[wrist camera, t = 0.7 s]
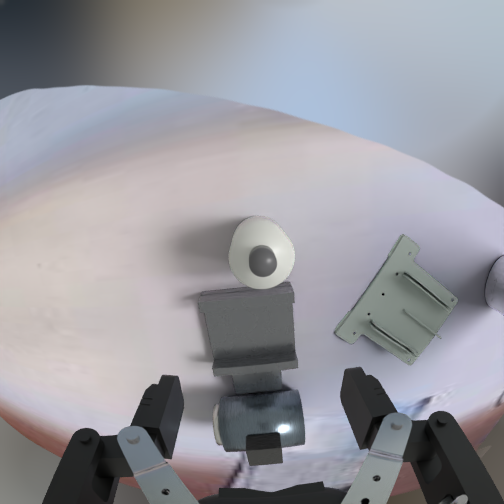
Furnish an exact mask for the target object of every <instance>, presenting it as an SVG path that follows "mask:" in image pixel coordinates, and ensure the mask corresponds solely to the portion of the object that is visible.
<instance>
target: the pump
mask: <svg viewBox="0 0 504 504" xmlns="http://www.w3.org/2000/svg"><path fill="white" fill-rule="evenodd" d="M294 261H295V252H294V248H293V245H292V242H291V241H290V239H289V238H288V236H287V235H286V234H285V233H284V231H283V230H282V229H281V227H280V226H279V225H278V224H277V223H276V222H275V221H274V220H272V219H270V218H268V217H265V216H253V217H249V218H247V219H245V220H244V221H242V222H241V223H240V224H239V225H238V227H237V228H236V230H235V232H234V235H233V238H232V242H231V246H230V250H229V265H230V268H231V271H232V273H233V274H234V276H235V277H236V278H237V279H238V280H239V281H240V282H241V283H243V284H244V285H246V286H248V287H251V288H255V289H268V288H272V287H274V286H277V285H278V284H280V283H282V282H283V281H284V280H285V279H286V278H287V277H288V276H289V274H290V273H291V271H292V268H293V266H294Z"/></svg>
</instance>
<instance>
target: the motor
mask: <svg viewBox="0 0 504 504" xmlns="http://www.w3.org/2000/svg"><path fill="white" fill-rule="evenodd" d="M292 303H295V301H294V291H293V289H292V286H291V284H290V282H286V283H280V284H278V285H277V286H274V287H272V288H268V289H255V288H251V287H243V288H233V289H224V290H214V291H204V292H202V293H201V296H200V299H199V301H198V305H199V310H200V313H203V312H204V314H205V319H206V324H207V329H208V334H209V339H210V343H211V348H212V353H213V357H214V362H213V368H212V369H213V373H214V376H229V375H232V377H233V382H234V387H235V392H236V394H242V393H254V392H264V391H273V390H281V389H282V379H281V370H287V369H295V368H298V359H297V356H296V352H295V338H294V321H293V306H292ZM213 430H214V436H215V440H216V443H217V444H218V445H223V447H224V450H225V451H226V452H238V451H246V454H247V458H248V462H249V465H250V466H255V465H267V464H277V463H283V459H282V448H284V447H292V446H299V445H304V444H305V426H304V417H303V410H302V404H301V399H300V395H299V392H298V390H291V391H283V392H275V393H266V394H257V395H245V396H231V397H222V398H221V400H220V404H215V405H214V409H213Z"/></svg>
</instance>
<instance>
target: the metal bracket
mask: <svg viewBox="0 0 504 504" xmlns="http://www.w3.org/2000/svg"><path fill="white" fill-rule="evenodd" d="M419 250H420V247H419V245H417V244H416V243H415V242H414V241H412V240H411V239H410V238H409V237H407V236H406V235H404V234H402V235H401V236H400V237H399V239H398V240H397V242H396V243H395V245H394V246H393V248H392V250H391V251H390V253H389V254H388V259H387V260H386V262H385V264H384V265H383V267H382V268H381V270H380V271H379V273H378V274H377V275H376V277H375V278H374V280H373V281H372V283H371V284H370V286H369V287H368V289H367V290H366V291H365V293H364V294H363V296H362V297H361V298H360V300H359V301H358V302H357V304H356V305H355V307H354V308H353V309H352V310H351V311H348V313H347V314H346V315H345V317H344V318H343V319H342V320H341V322H340V323H339V324H338V326H337V327H336V328H335V334H336V335H337V336H339V337H340V338H342V339H343V340H345V341H346V342H348V343H349V344H354V343H355V341H356V340H357V339H358V338H359V336H360V335H362V334H363V335H365V336H367V337H368V338H370V339H371V340H373V341H374V342H376V343H377V344H378V345H380V346H381V347H383V348H384V349H386V350H387V351H389V352H390V353H392V354H393V355H395V356H396V357H398V358H399V359H401V360H402V361H404V362H405V363H407V364H408V365H412V364H413V363H414V362H415V360H416V359H417V358H418V357H419V355H420V354H421V353H422V352H423V350H424V349H425V348H426V346H427V345H428V344H429V342H430V341H431V340H432V338H433V337H434V336H435V335H436V336H437V337H439V338H440V339H441V337H440V336H439V335H438V334H437V332H438V330H439V329H440V327H441V326H442V325H443V323H444V322H445V320H446V319H447V317H448V316H449V314H450V313H451V311H452V310H453V308H454V307H455V305H456V304H457V302H458V299H457V298H456V297H455V296H454V295H453V294H452V293H451V292H449V291H448V290H447V289H446V288H445V287H444V286H442V285H441V284H440V283H439V282H438V281H437V280H435V279H434V278H433V277H432V276H431V275H429V274H428V273H427V272H426V271H425V270H423V269H422V268H421V267H420V266H418V265H417V264H416V263H415V262H414V258H415V257H416V255H417V253H418V252H419ZM409 252H411V255H409ZM396 273H398V275H397V276H396ZM382 293H384V296H382ZM452 298H454V300H453V301H452V302H451V299H452ZM368 313H370V315H368ZM353 332H356V333H355V334H353ZM409 358H410V361H407V360H408V359H409Z"/></svg>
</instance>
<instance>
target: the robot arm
mask: <svg viewBox="0 0 504 504" xmlns="http://www.w3.org/2000/svg"><path fill="white" fill-rule="evenodd" d="M485 298H486V302H487V304H488V305H489V306H490V307H491V308H493V309H495V310H496V311H498V312H499V313H501V314H502V315H504V256H502V257H500V258H499V259H498V260H497V261H496V262H495V264H494V265H493V267H492V269H491V271H490V273H489V276H488V279H487V283H486V288H485ZM340 398H341V403H342V405H343V408H344V410H345V413H346V415H347V418H348V420H349V423H350V425H351V428H352V430H353V433H354V436H355V438H356V441H357V443H358V446H359V448H360V450H362V449H366V448H368V449H369V453H368V455H367V457H366V459H365V461H364V463H363V465H362V467H361V469H360V471H359V473H358V475H357V477H356V478H355V480H354V482H353V484H352V486H351V487H350V489H349V491H348V493H347V492H345V491H342V490H339V489H335V488H329V487H324V484H323V481H322V482H316V483H309V484H301V485H296V486H293V487H290V488H286V489H283V490H279V491H276V492H265V491H258V490H252V489H246V488H219V494H214V495H211V496H207V497H204V498H202V499H200V500H198V501H197V500H196V499H195V498H194V496H193V495H192V494H191V493H190V491H189V490H188V489H187V488H186V486H185V485H184V484H183V482H182V481H181V480H180V478H179V477H178V476H177V474H176V473H175V471H174V470H173V469H172V467H171V466H170V464H169V463H168V462H166V461H165V460H164V458H165V459H172V455H173V451H174V447H175V442H176V438H177V434H178V430H179V426H180V422H181V417H182V413H183V409H184V399H183V395H182V390H181V386H180V381H179V377H178V376H173V375H162V376H161V379H160V381H159V384H152V385H151V386H150V387H148V388H147V389H146V390H145V392H144V395H143V397H142V399H141V402H140V405H139V406H138V409H137V411H136V413H135V416H134V418H133V420H132V423H131V425H130V426H129V427H126V428H124V429H122V430H121V431H120V432H119V433H118V435H113V436H99V434H98V432H97V431H95V430H93V429H91V428H83V429H80V430H78V431H76V432H75V433H74V434H73V436H72V438H71V440H70V442H69V444H68V446H67V448H66V450H65V452H64V454H63V457H62V459H61V461H60V463H59V466H58V467H57V470H56V472H55V474H54V476H53V479H52V481H51V484H50V486H49V488H48V490H47V493H46V495H45V498H44V500H43V503H42V504H113V502H114V497H115V494H116V490H117V486H118V483H119V479H120V477H133V476H134V477H135V478H136V480H137V482H138V484H139V486H140V487H141V489H142V491H143V493H144V494H145V496H146V498H147V499H148V501H149V502H150V504H386V503H387V500H388V498H389V496H390V493H391V491H392V489H393V486H394V484H395V481H396V479H397V476H398V474H399V471H400V468H401V465H402V463H403V462H411V465H412V467H413V470H414V472H415V474H416V477H417V479H418V482H419V484H420V487H421V489H422V492H423V494H424V496H425V499H426V502H427V504H504V501H503V499H502V497H501V495H500V493H499V491H498V490H497V488H496V486H495V484H494V482H493V480H492V479H491V477H490V475H489V473H488V472H487V470H486V468H485V466H484V465H483V463H482V461H481V460H480V458H479V456H478V455H477V453H476V451H475V450H474V448H473V447H472V445H471V443H470V442H469V440H468V439H467V437H466V435H465V434H464V432H463V431H462V429H461V428H460V426H459V425H458V423H457V422H456V420H455V419H454V417H453V416H452V415H451V414H450V413H448V412H445V411H437V412H434V413H432V414H431V415H430V417H429V419H428V420H417V421H413V420H411V419H410V418H409V417H408V416H407V415H405V414H403V413H398V412H397V410H396V408H395V407H394V405H393V403H392V402H391V400H390V398H389V397H388V395H387V394H386V392H385V390H384V389H383V388H382V385H381V384H380V382H379V381H378V380H377V379H376V378H375V377H373V376H372V375H367V376H366V374H365V373H364V371H363V369H362V368H361V367H355V368H348V369H345V371H344V376H343V382H342V387H341V392H340Z"/></svg>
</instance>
